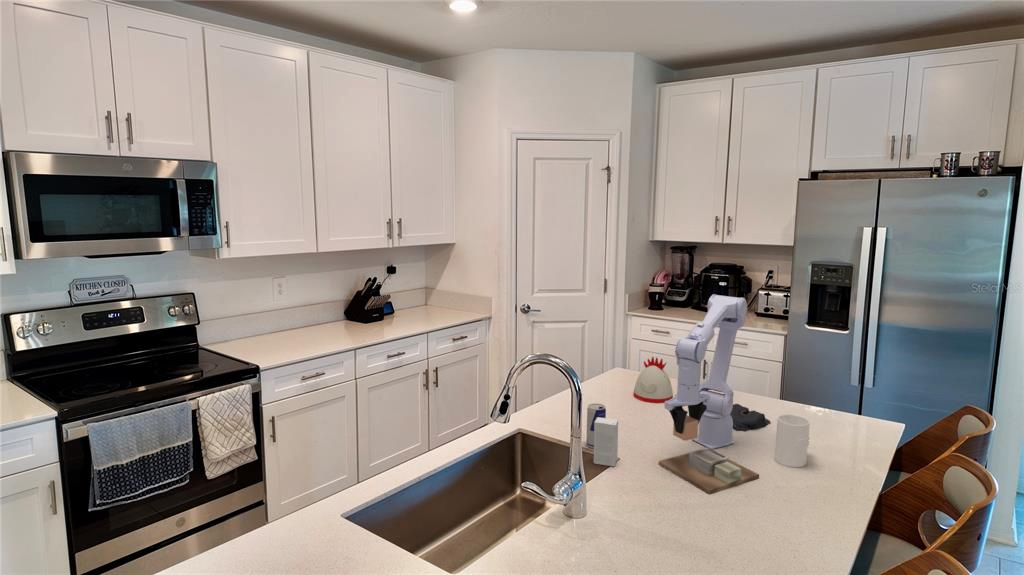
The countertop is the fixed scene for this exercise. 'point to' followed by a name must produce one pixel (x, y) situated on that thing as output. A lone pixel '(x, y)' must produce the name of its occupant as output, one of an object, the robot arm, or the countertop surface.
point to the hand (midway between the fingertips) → (686, 430)
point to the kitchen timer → (653, 383)
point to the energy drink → (592, 415)
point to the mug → (792, 440)
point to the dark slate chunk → (747, 419)
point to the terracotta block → (688, 429)
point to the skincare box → (605, 441)
